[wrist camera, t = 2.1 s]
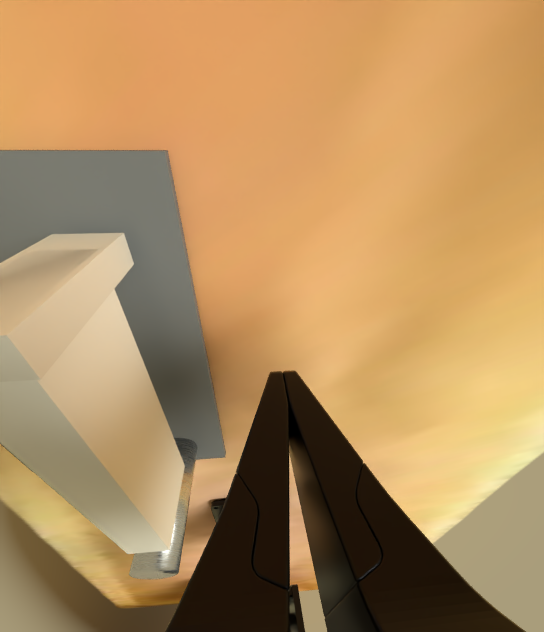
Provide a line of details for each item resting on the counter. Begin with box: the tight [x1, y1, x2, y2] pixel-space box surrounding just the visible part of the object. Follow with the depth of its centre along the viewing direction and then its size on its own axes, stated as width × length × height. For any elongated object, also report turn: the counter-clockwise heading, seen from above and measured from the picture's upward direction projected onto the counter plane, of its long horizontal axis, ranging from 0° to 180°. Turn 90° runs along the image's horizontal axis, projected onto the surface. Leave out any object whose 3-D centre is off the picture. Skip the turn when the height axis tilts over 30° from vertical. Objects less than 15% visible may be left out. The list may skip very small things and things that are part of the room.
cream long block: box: [0, 233, 185, 554], centre depth 11 cm, size 14×2×6 cm, turn 0°
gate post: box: [129, 438, 198, 579], centre depth 16 cm, size 2×2×7 cm
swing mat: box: [0, 150, 226, 472], centre depth 14 cm, size 20×14×1 cm
